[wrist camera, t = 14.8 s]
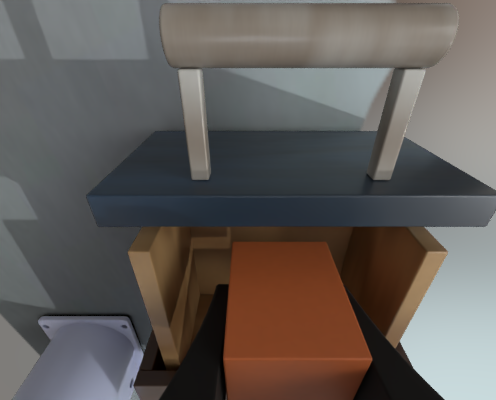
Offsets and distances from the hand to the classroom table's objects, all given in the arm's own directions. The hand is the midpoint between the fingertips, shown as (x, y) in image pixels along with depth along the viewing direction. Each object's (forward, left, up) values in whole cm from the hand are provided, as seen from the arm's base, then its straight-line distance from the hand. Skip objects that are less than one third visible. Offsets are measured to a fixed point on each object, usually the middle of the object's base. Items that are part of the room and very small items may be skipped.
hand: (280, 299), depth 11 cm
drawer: (+2, 0, -6) cm, 6 cm away
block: (0, 0, -1) cm, 1 cm away
